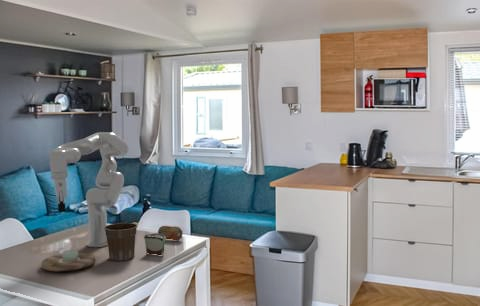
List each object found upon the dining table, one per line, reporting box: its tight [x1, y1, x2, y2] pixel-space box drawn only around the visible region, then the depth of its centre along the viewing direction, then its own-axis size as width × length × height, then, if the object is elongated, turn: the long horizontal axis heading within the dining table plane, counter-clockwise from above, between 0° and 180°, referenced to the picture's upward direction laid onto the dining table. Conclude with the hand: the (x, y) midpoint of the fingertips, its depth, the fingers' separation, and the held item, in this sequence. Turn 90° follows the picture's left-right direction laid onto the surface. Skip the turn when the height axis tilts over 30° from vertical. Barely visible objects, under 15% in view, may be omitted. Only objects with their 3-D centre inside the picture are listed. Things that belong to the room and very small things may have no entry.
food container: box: [143, 232, 166, 256], centre depth 237 cm, size 12×6×10 cm, turn 65°
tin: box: [157, 225, 183, 241], centre depth 263 cm, size 15×3×8 cm, turn 67°
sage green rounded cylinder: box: [61, 249, 79, 263], centre depth 217 cm, size 7×7×4 cm
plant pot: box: [104, 222, 138, 262], centre depth 231 cm, size 16×16×16 cm
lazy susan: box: [41, 251, 96, 272], centre depth 218 cm, size 24×24×4 cm
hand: (62, 211), depth 228 cm, fingers closed
